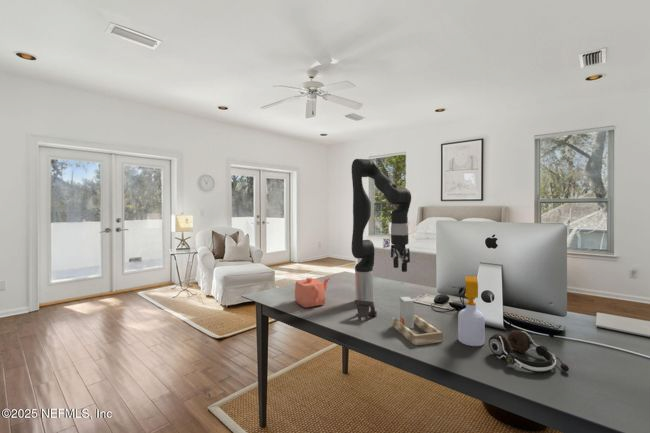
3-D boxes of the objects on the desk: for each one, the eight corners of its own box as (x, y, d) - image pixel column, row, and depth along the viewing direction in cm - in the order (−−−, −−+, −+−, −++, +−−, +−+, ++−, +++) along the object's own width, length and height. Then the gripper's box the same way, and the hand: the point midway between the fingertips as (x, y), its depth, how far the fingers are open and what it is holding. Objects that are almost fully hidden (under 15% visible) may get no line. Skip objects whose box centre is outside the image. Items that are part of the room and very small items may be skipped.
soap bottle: (482, 337, 123) (482, 275, 122) (486, 348, 114) (486, 280, 113) (457, 335, 126) (457, 273, 125) (459, 345, 117) (458, 279, 116)
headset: (520, 323, 116) (579, 356, 97) (517, 342, 117) (575, 378, 99) (484, 331, 110) (540, 367, 92) (481, 351, 111) (536, 391, 93)
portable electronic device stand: (377, 315, 149) (377, 298, 149) (372, 321, 142) (372, 303, 142) (359, 313, 153) (359, 296, 152) (353, 319, 146) (353, 301, 145)
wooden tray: (392, 326, 137) (392, 318, 136) (416, 323, 139) (416, 315, 139) (415, 345, 118) (415, 336, 118) (442, 341, 121) (442, 332, 120)
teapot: (340, 305, 166) (339, 278, 165) (305, 311, 157) (304, 284, 156) (323, 295, 184) (322, 271, 183) (291, 300, 175) (290, 275, 174)
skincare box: (399, 323, 139) (399, 296, 138) (409, 323, 139) (409, 296, 139) (404, 329, 133) (404, 301, 132) (414, 328, 133) (414, 300, 132)
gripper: (385, 232, 147) (385, 267, 148) (398, 235, 133) (399, 273, 134) (400, 231, 149) (400, 266, 149) (415, 234, 135) (415, 272, 135)
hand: (400, 269), depth 142 cm, fingers open, 8 cm apart
